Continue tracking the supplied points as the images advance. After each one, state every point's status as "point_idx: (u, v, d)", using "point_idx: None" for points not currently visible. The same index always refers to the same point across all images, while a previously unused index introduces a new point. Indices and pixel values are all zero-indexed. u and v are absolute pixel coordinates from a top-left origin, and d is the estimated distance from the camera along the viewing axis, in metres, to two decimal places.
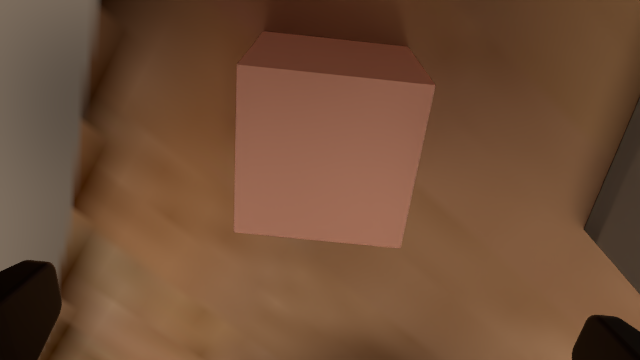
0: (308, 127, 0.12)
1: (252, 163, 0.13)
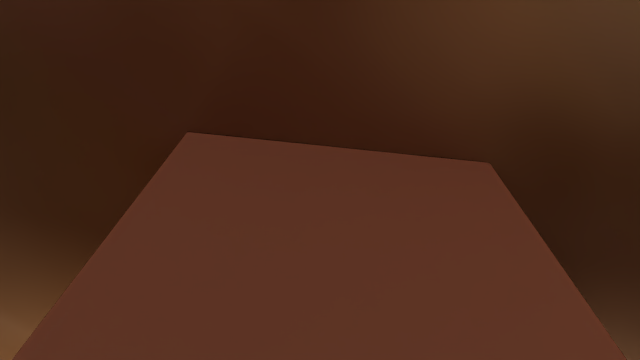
0: None
1: None
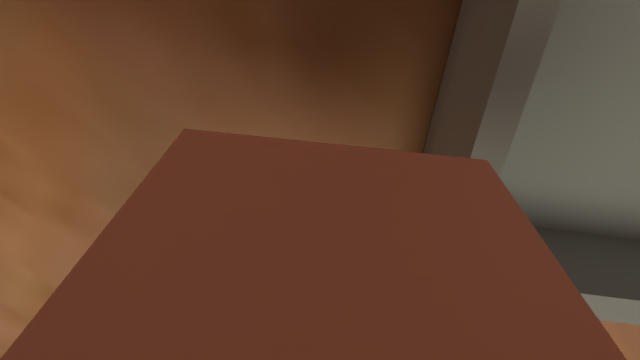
0: None
1: None
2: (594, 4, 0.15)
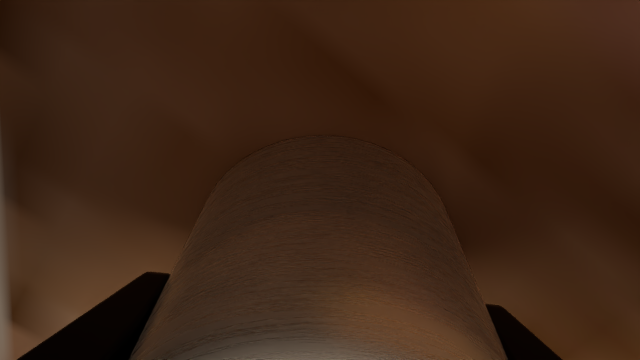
0: None
1: None
2: None
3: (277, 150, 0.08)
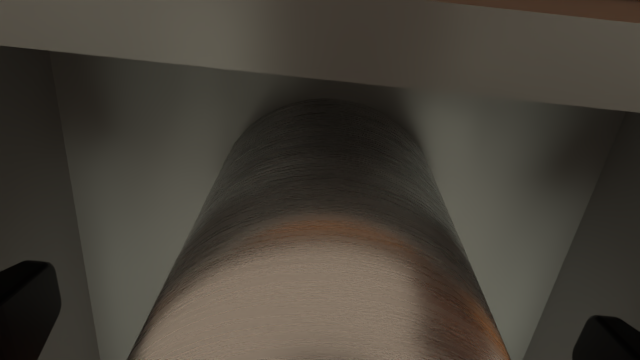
0: None
1: None
2: None
3: (288, 110, 0.10)
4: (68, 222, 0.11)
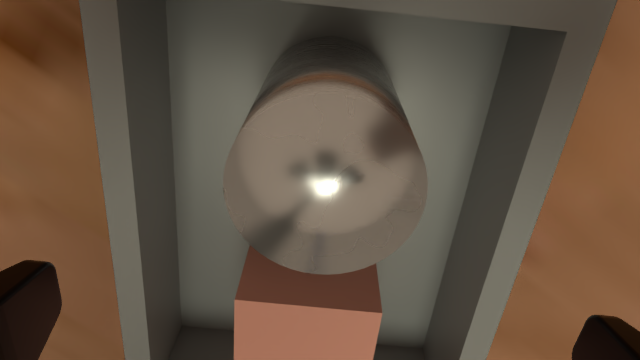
0: (288, 336, 0.16)
1: (246, 357, 0.17)
2: None
3: (306, 42, 0.16)
4: (168, 117, 0.18)
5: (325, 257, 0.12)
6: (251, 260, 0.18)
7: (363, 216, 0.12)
